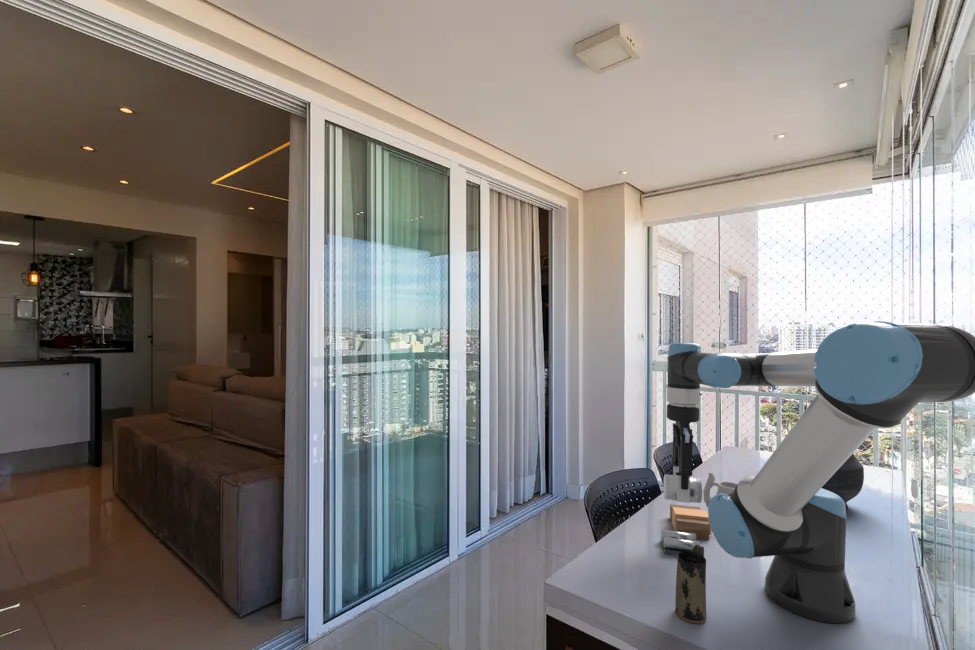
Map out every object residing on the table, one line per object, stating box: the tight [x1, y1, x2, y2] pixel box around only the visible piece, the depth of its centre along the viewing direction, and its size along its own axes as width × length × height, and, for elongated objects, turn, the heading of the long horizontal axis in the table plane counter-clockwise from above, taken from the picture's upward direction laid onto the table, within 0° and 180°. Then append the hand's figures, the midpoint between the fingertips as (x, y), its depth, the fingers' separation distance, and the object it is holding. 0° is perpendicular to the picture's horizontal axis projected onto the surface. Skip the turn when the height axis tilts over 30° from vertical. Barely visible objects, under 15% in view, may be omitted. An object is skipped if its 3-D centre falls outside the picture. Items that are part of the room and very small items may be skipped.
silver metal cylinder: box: [663, 474, 703, 504], centre depth 115 cm, size 8×6×6 cm
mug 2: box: [675, 545, 708, 625], centre depth 89 cm, size 8×6×12 cm
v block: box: [660, 529, 701, 556], centre depth 115 cm, size 8×7×3 cm
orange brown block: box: [671, 507, 712, 536], centre depth 126 cm, size 5×9×5 cm, turn 77°
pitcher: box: [821, 453, 865, 511], centre depth 149 cm, size 17×21×30 cm
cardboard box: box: [669, 503, 710, 540], centre depth 127 cm, size 12×8×4 cm, turn 166°
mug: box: [702, 471, 738, 508], centre depth 136 cm, size 8×12×12 cm, turn 36°
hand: (680, 496), depth 115 cm, fingers closed on silver metal cylinder, 6 cm apart
